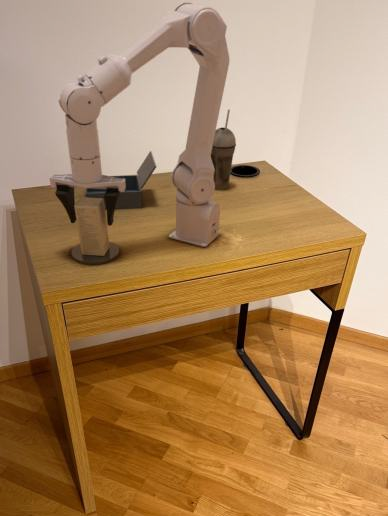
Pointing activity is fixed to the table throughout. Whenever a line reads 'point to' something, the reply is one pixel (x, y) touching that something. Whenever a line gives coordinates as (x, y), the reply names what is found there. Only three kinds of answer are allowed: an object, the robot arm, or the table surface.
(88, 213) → the box
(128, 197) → the carton
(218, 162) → the beverage cup
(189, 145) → the robot arm
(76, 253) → the coaster
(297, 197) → the table surface
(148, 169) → the flap
